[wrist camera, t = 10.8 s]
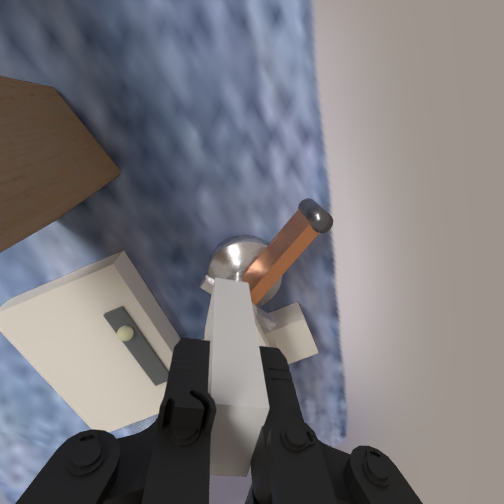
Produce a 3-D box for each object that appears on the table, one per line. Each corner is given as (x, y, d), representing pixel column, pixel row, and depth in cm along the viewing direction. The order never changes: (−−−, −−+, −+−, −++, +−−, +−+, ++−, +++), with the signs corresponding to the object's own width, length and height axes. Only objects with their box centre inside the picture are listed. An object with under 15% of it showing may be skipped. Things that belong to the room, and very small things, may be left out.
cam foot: (243, 320, 42) (248, 368, 34) (184, 284, 40) (174, 327, 31) (335, 217, 38) (366, 244, 30) (275, 168, 35) (290, 182, 27)
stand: (9, 298, 39) (-72, 365, 28) (253, 194, 36) (265, 224, 26) (108, 411, 47) (74, 495, 37) (311, 333, 45) (338, 399, 34)
